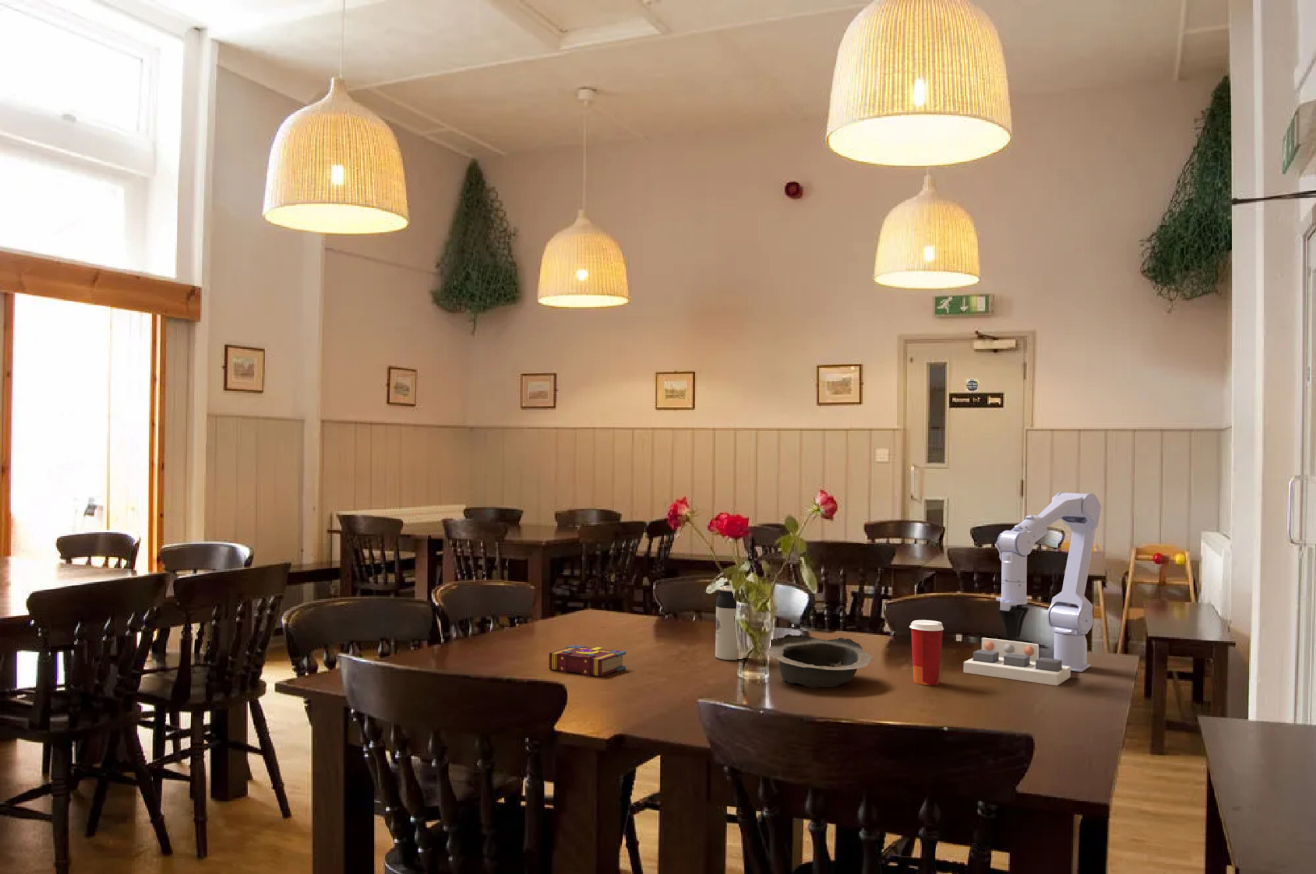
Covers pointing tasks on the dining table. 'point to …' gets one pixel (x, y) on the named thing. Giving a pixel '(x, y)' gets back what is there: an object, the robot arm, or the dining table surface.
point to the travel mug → (725, 625)
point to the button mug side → (986, 656)
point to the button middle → (1017, 660)
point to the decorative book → (587, 660)
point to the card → (1011, 648)
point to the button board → (1017, 672)
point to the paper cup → (926, 651)
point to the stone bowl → (818, 660)
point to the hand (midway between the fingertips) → (1013, 637)
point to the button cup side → (1049, 664)
